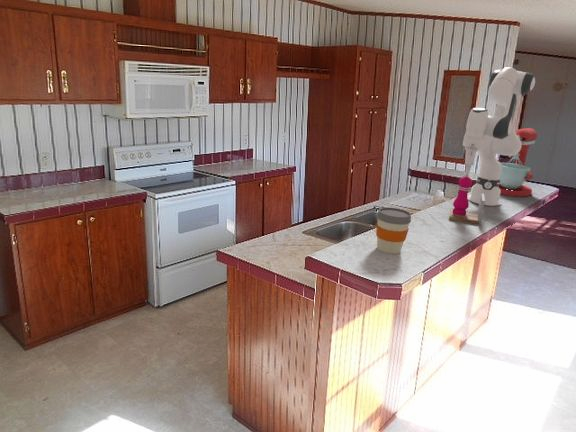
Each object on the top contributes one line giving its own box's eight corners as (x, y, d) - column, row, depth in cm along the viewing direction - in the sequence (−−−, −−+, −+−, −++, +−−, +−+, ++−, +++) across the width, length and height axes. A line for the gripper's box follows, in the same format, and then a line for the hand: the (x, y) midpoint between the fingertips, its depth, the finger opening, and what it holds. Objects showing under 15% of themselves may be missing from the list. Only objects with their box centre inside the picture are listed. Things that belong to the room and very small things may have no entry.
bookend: (450, 211, 239) (454, 189, 235) (478, 216, 234) (484, 193, 231) (448, 220, 224) (453, 196, 221) (479, 225, 220) (484, 201, 216)
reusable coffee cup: (412, 252, 178) (418, 215, 173) (388, 257, 171) (394, 218, 166) (389, 241, 188) (394, 206, 183) (365, 245, 181) (371, 208, 176)
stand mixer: (483, 190, 294) (497, 126, 282) (498, 184, 317) (512, 125, 305) (523, 199, 279) (539, 132, 267) (536, 192, 303) (552, 130, 291)
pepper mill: (467, 216, 226) (476, 176, 220) (452, 214, 227) (460, 174, 221) (465, 212, 232) (473, 173, 226) (450, 210, 234) (458, 171, 228)
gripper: (480, 146, 209) (474, 176, 213) (479, 141, 227) (473, 169, 231) (465, 145, 211) (459, 174, 215) (466, 139, 229) (460, 167, 233)
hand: (467, 171), depth 223 cm, fingers open, 8 cm apart
